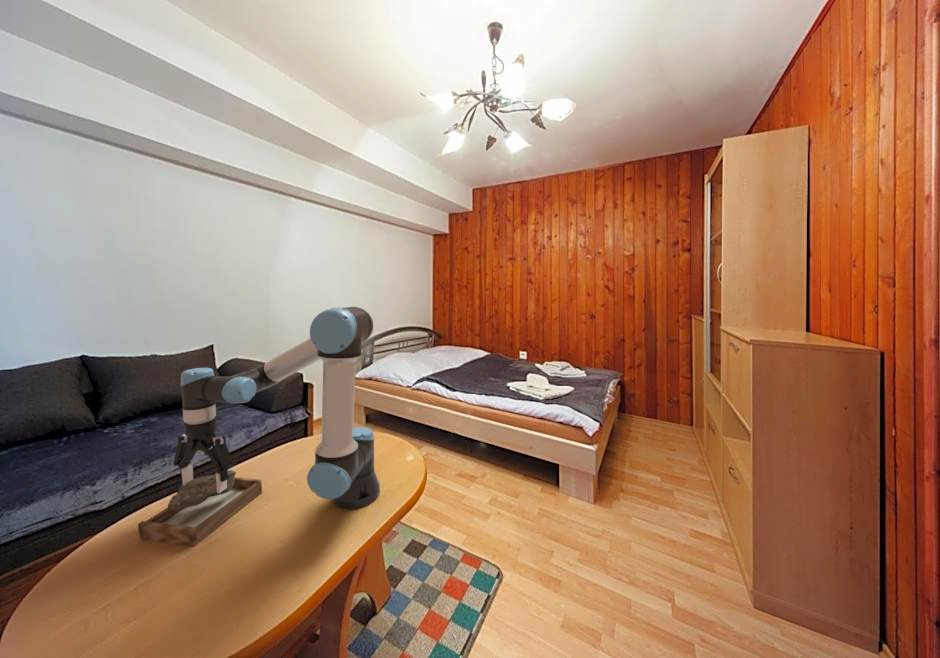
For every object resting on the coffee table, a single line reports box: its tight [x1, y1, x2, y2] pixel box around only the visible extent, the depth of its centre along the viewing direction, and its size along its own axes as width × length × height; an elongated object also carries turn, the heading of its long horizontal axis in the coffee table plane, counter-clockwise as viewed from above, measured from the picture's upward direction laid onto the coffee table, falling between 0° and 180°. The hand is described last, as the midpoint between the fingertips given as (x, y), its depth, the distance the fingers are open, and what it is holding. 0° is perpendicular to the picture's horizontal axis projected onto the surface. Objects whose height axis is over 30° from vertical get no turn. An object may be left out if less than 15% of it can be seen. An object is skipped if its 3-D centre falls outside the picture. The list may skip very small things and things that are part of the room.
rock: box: [167, 469, 237, 510], centre depth 99 cm, size 17×7×10 cm
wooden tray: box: [137, 476, 263, 548], centre depth 99 cm, size 17×24×5 cm
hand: (205, 488), depth 99 cm, fingers closed on rock, 11 cm apart
